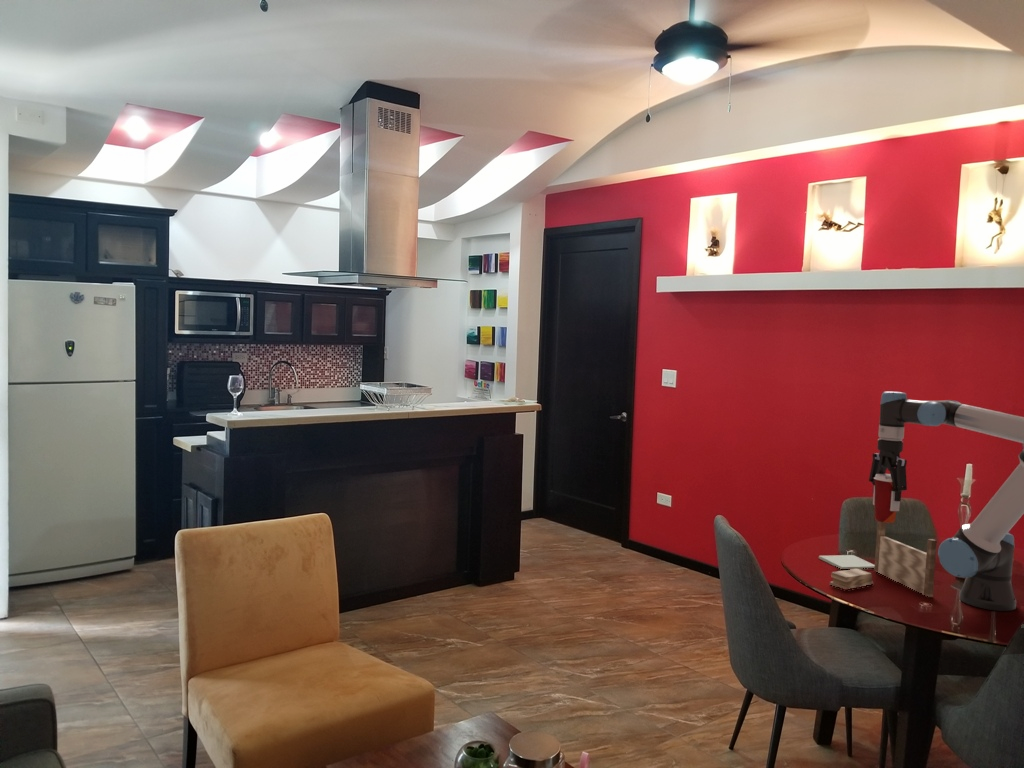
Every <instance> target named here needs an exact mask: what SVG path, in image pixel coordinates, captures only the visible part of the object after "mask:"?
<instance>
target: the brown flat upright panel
mask: <svg viewBox="0 0 1024 768" xmlns="http://www.w3.org/2000/svg"><path fill="white" fill-rule="evenodd" d="M886 524H887V523H885V522H880V521H877V526H876V528H877V529H876V541H875V542H876V543H875V556H874V565H875V568H874V569H873V572H874V571H876V572H878V573H880V574H882V575H884V576H886V577H885V578H887V577H888V578H887V579H889V578H890V579H889V580H891V579H892V580H891V581H893V580H894V581H893V582H895V581H896V582H895V583H897V582H899V583H901V584H903V585H902V586H904V585H905V586H904V587H906V586H907V587H906V588H908V587H909V588H908V589H910V588H911V589H910V590H912V589H913V590H912V591H914V590H915V591H914V592H916V591H917V592H916V593H918V592H919V594H920V593H922V594H921V595H923V596H924V595H925V596H924V597H927V596H928V597H927V598H933V597H934V582H935V571H936V557H937V556H936V554H937V539H934V538H928V539H927V543H926V544H927V545H926V552H925V551H923V550H920V549H918V548H915V547H912V546H911V545H908V544H906V543H903V542H900V541H898V540H896V539H893V538H890V537H888V536H886V526H887V525H886ZM876 572H875V573H876ZM878 573H877V574H878ZM880 574H879V575H880ZM882 575H881V576H882ZM884 576H883V577H884ZM899 583H898V584H899ZM901 584H900V585H901Z"/></svg>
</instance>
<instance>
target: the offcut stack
mask: <svg viewBox="0 0 1024 768" xmlns="http://www.w3.org/2000/svg"><path fill="white" fill-rule="evenodd" d="M872 575H873V574H872V572H868V571H866V570H864V569H857V568H856V569H850V570H838V571H837V570H836V571H831V574H830V576H831V577H830V578H832V581H829V586H830V585H832V586H831V587H833V586H835V587H834V588H836V587H840V588H843V589H850V588H856V587H861V586H866V585H871V584H873V585H874V580H873V576H872Z"/></svg>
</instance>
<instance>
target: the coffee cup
mask: <svg viewBox="0 0 1024 768" xmlns="http://www.w3.org/2000/svg"><path fill="white" fill-rule="evenodd" d="M874 479H875V505H874V520H875V521H876V522H878V521H880V522H885V523H886V524H888V523H889V524H894V523H895V522H896V517H897V511H890V507H891V493H892V490H893V484H892V482H893V481H892V479H891V474H890V473H885V474H876V475H875V477H874ZM897 487H898V486H897Z"/></svg>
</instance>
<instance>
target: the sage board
mask: <svg viewBox="0 0 1024 768" xmlns="http://www.w3.org/2000/svg"><path fill="white" fill-rule="evenodd" d="M818 559H819V560H821V561H823V562H825V563H826V564H829V565H832V566H833V567H835V566H836V567H835V568H837V567H838V568H837V569H839V568H840V569H839V570H841V569H856V568H857V569H860V570H869V569H868V568H875V563H871V562H870V561H867V560H865V559H864V558H863V559H862V558H860V557H859V556H856V555H854V554H841V555H840V554H839V555H835V554H833V555H819V556H818ZM863 568H864V569H863ZM865 568H867V569H865Z"/></svg>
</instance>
